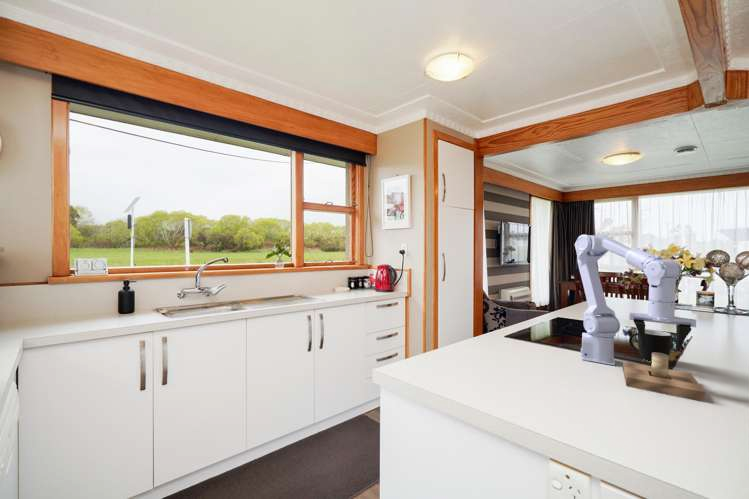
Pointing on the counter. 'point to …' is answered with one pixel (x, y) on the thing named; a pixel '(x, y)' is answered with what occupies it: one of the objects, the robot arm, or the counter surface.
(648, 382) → the board
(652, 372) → the peg
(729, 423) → the counter surface
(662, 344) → the mug
